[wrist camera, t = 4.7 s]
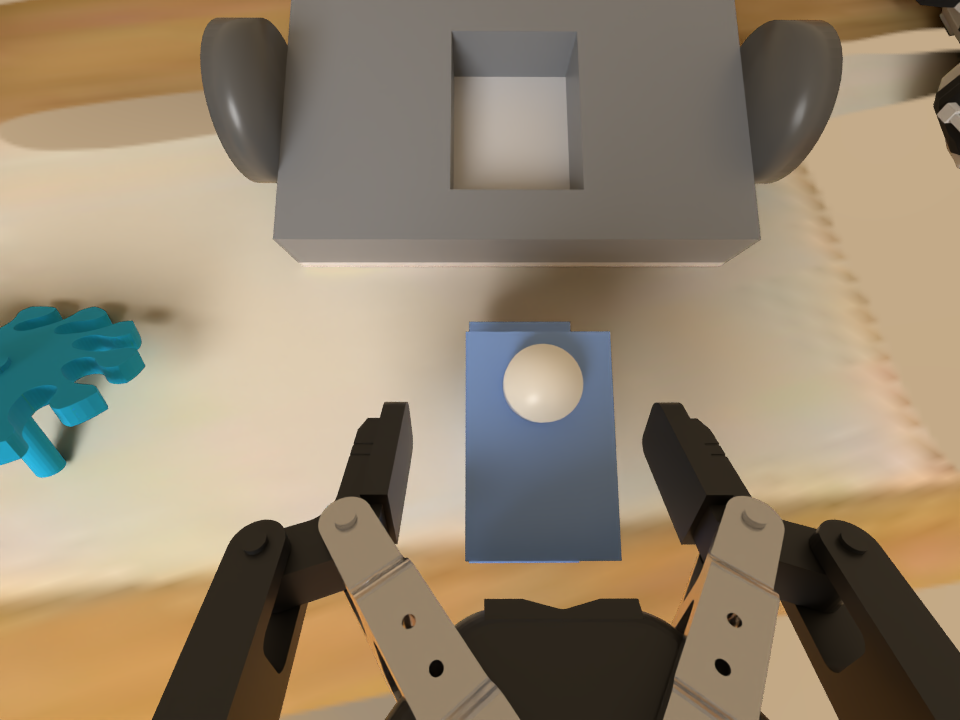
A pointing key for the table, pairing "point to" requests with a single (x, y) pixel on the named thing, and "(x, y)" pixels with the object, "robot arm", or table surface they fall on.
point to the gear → (57, 376)
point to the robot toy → (949, 81)
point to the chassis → (517, 127)
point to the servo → (540, 445)
